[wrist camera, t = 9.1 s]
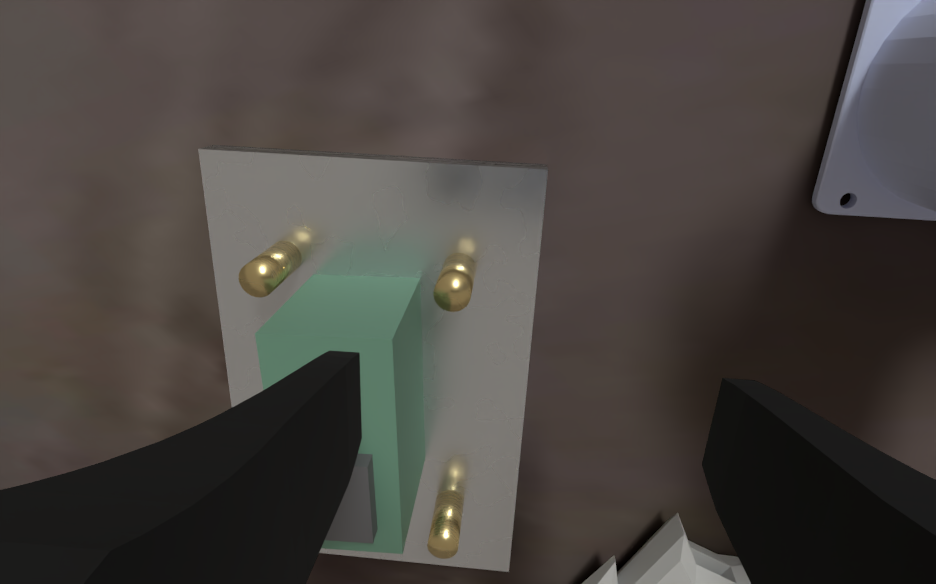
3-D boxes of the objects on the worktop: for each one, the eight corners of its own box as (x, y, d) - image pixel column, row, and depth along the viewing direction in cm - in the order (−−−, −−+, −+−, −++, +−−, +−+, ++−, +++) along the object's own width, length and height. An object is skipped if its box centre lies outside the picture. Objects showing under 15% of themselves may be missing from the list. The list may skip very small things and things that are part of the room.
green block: (420, 278, 21) (387, 348, 15) (425, 458, 24) (399, 568, 18) (313, 274, 21) (245, 342, 16) (331, 453, 24) (279, 559, 19)
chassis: (546, 164, 20) (552, 184, 17) (509, 554, 26) (508, 622, 23) (212, 145, 20) (155, 159, 17) (258, 529, 27) (223, 592, 24)
